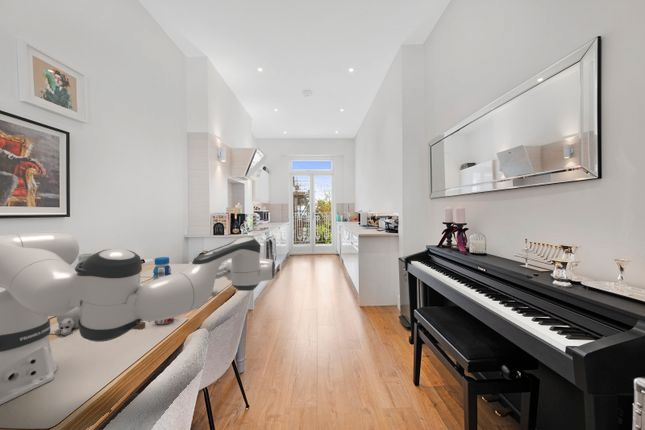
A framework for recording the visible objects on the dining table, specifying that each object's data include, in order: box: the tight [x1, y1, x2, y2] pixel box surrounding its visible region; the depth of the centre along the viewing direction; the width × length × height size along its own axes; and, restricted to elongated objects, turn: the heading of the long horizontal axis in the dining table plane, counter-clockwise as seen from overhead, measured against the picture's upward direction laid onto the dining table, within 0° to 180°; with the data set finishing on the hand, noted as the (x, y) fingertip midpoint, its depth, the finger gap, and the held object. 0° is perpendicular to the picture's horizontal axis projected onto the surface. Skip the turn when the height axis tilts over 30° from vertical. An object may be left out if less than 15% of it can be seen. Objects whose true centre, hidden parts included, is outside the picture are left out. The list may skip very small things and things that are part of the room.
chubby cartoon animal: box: [56, 307, 80, 336], centre depth 104 cm, size 7×12×8 cm, turn 27°
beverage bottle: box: [152, 256, 172, 281], centre depth 146 cm, size 8×8×20 cm
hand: (201, 268), depth 109 cm, fingers open, 3 cm apart
